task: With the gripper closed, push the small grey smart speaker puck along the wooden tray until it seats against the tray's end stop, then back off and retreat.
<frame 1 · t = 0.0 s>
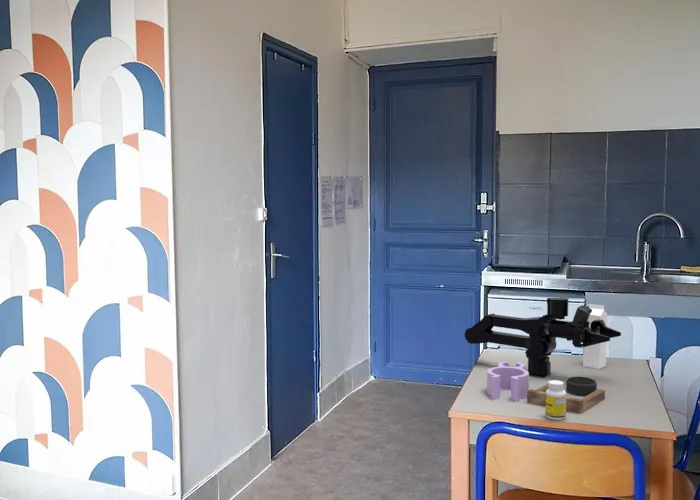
hand: (615, 336, 209), 17 cm above the table, tool horizontal, fingers open, 9 cm apart
supplement bottle: (555, 417, 185), on the table
clip: (508, 392, 209), on the table
wooden tray: (567, 399, 200), on the table
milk: (594, 366, 238), on the table
smart speaker: (581, 393, 208), on the table
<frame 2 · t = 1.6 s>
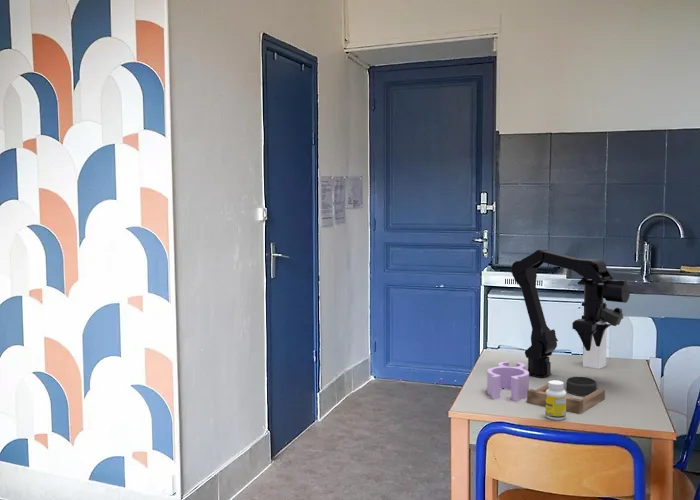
hand: (593, 348, 213), 12 cm above the table, tool pointing down, fingers open, 8 cm apart
nothing on the table moved.
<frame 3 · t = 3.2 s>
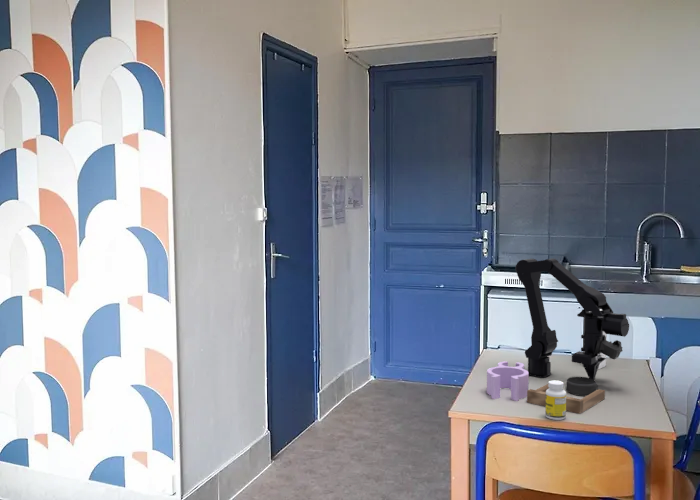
hand: (592, 380, 214), 2 cm above the table, tool pointing down, fingers closed
nothing on the table moved.
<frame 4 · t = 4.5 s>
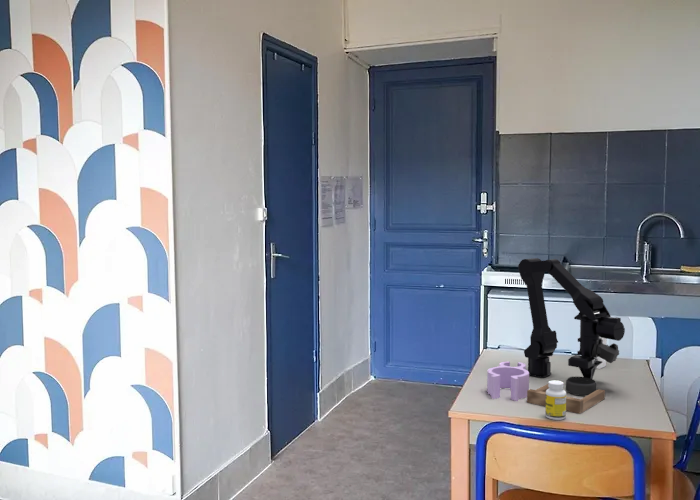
hand: (588, 384, 212), 1 cm above the table, tool pointing down, fingers closed
smart speaker: (580, 393, 207), on the table, touching gripper
everything else where it was.
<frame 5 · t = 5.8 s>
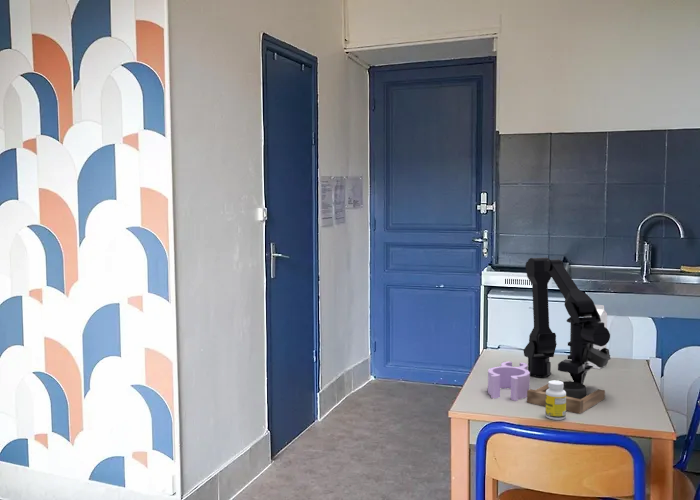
hand: (579, 389, 206), 1 cm above the table, tool pointing down, fingers closed
smart speaker: (570, 398, 202), on the table, touching gripper
everything else where it was.
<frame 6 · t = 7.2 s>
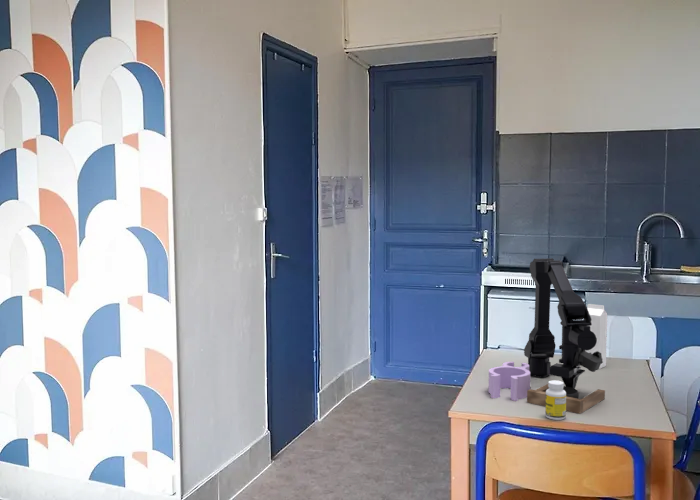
hand: (571, 393, 202), 1 cm above the table, tool pointing down, fingers closed
smart speaker: (562, 403, 197), on the table, touching gripper, wooden tray
everything else where it was.
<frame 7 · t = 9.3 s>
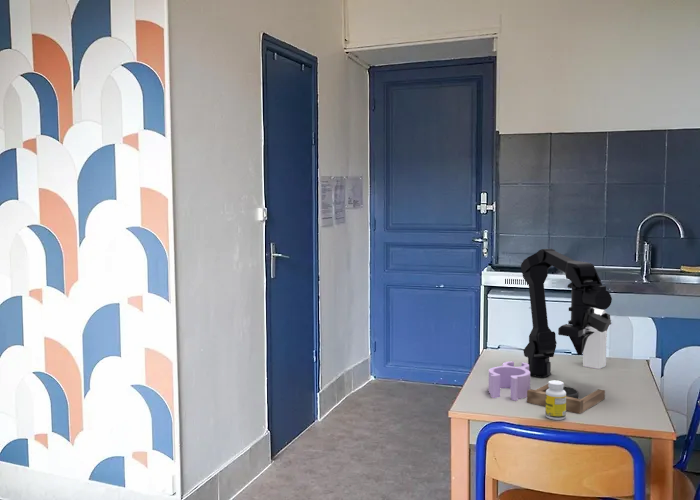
hand: (579, 354, 206), 12 cm above the table, tool pointing down, fingers closed
smart speaker: (562, 403, 197), on the table
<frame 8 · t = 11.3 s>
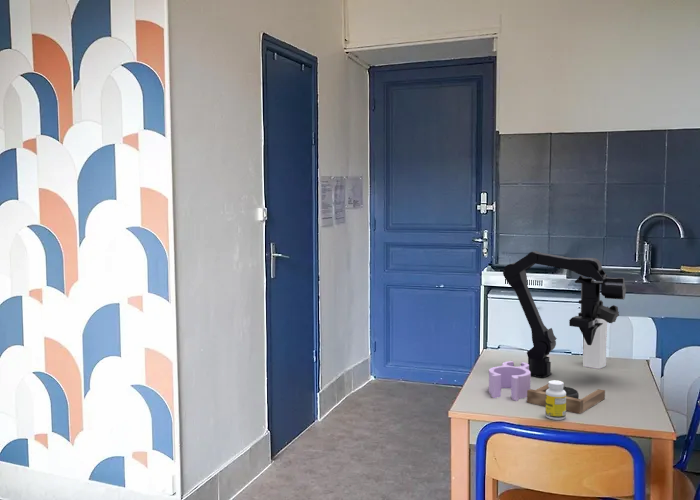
hand: (589, 345, 218), 12 cm above the table, tool pointing down, fingers closed
at the end: smart speaker inside the target area (0.1 cm from its centre), on the table; smart speaker moved 13.6 cm from its start; the gripper is holding nothing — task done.
